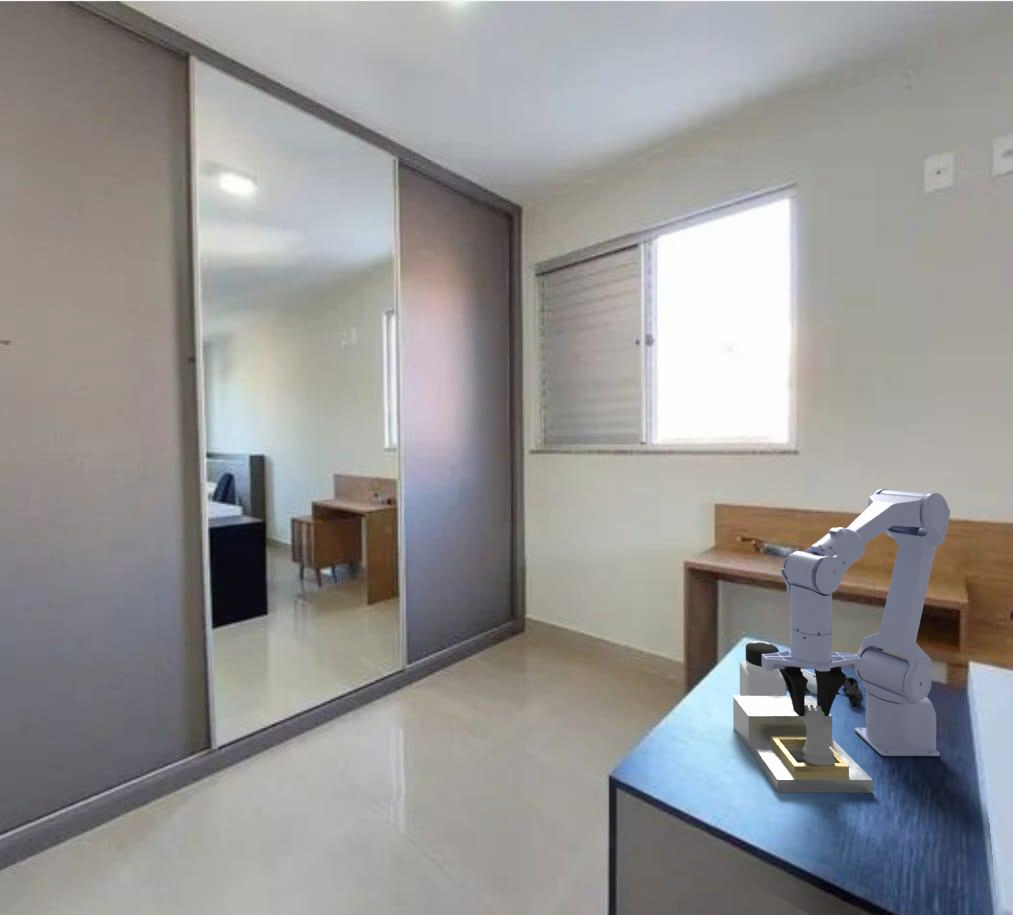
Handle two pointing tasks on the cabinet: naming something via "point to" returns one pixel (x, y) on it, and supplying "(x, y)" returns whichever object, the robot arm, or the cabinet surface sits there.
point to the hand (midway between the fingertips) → (810, 713)
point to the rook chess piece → (816, 739)
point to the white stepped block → (793, 747)
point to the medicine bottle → (760, 673)
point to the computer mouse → (849, 685)
